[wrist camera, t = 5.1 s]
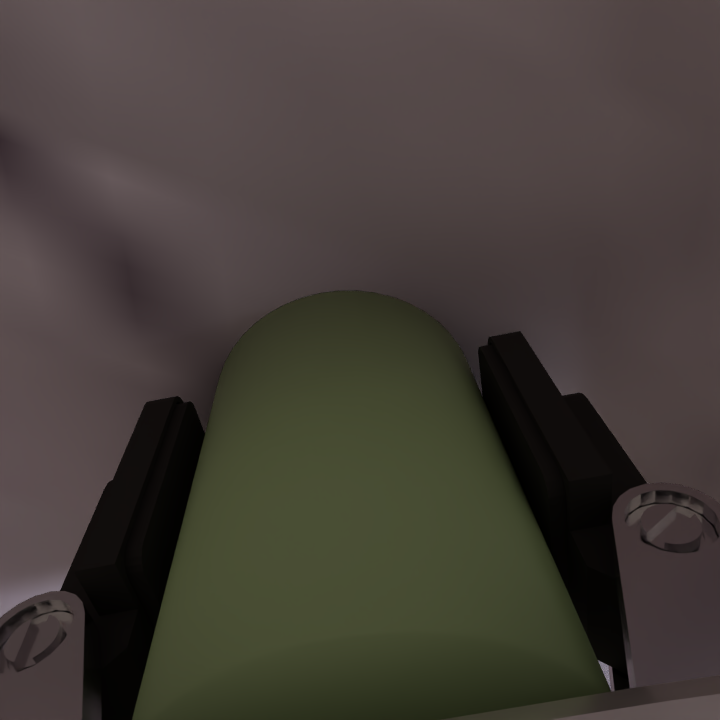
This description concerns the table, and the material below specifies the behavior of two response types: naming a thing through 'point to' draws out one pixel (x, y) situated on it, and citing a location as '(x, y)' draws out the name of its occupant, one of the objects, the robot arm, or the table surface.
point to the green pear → (358, 538)
